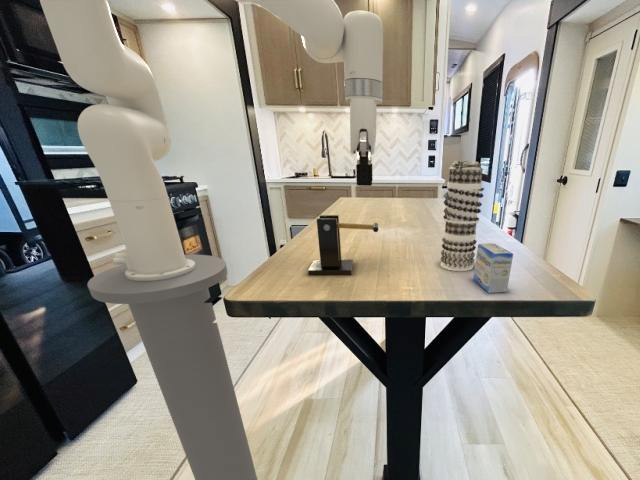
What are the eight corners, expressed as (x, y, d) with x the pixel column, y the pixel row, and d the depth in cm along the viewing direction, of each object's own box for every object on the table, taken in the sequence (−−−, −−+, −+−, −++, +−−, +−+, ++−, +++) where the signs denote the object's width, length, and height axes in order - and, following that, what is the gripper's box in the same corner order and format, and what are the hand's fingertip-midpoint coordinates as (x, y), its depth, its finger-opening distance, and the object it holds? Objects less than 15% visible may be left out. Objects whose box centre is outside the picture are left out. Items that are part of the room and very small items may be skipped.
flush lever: (377, 230, 78) (378, 220, 77) (378, 234, 74) (378, 224, 73) (324, 227, 77) (323, 217, 76) (320, 232, 73) (320, 221, 72)
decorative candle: (481, 270, 80) (495, 162, 70) (447, 272, 78) (456, 161, 68) (465, 259, 88) (476, 161, 78) (434, 261, 86) (440, 160, 76)
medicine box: (472, 280, 74) (477, 243, 70) (490, 278, 75) (495, 242, 71) (488, 293, 67) (493, 253, 63) (507, 292, 68) (514, 252, 64)
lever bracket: (353, 264, 83) (350, 214, 78) (351, 274, 76) (348, 220, 71) (314, 264, 82) (309, 213, 77) (308, 275, 75) (302, 220, 70)
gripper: (348, 99, 72) (350, 180, 79) (340, 84, 56) (344, 186, 63) (381, 100, 72) (381, 180, 80) (383, 86, 57) (382, 187, 64)
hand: (365, 183), depth 72 cm, fingers open, 9 cm apart
